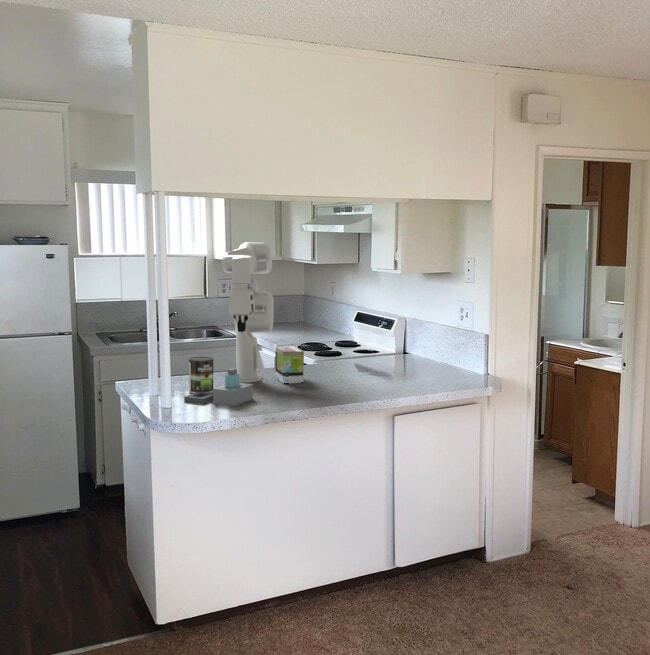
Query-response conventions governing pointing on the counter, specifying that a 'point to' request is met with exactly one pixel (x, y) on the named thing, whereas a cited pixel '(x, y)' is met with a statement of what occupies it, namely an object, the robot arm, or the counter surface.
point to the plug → (232, 379)
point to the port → (232, 394)
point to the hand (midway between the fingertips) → (241, 331)
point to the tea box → (289, 364)
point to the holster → (199, 398)
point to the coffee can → (201, 374)
